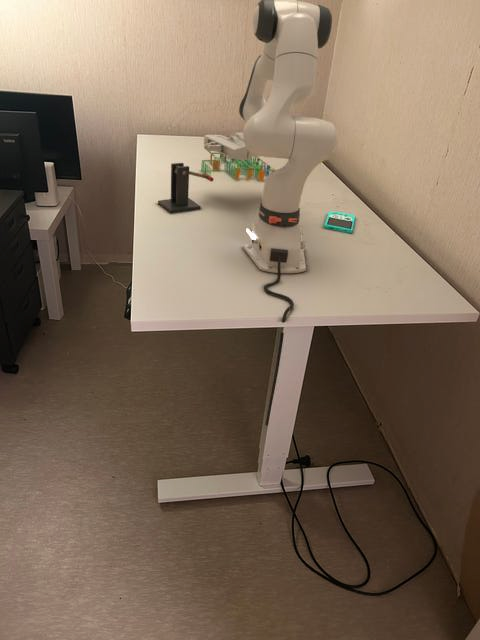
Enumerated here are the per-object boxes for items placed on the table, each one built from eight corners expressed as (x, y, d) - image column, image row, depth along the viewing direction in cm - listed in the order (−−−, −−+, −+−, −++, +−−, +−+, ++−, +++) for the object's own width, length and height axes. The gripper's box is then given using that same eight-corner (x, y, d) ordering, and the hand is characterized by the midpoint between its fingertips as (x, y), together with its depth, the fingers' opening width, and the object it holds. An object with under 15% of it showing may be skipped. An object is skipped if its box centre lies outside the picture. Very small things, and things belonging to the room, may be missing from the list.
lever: (204, 178, 170) (206, 172, 169) (212, 183, 167) (214, 176, 166) (172, 170, 161) (173, 163, 160) (179, 175, 158) (181, 168, 157)
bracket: (187, 199, 173) (188, 159, 165) (200, 209, 167) (202, 168, 159) (157, 203, 167) (157, 162, 159) (170, 213, 161) (171, 170, 152)
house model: (275, 180, 204) (277, 169, 202) (212, 182, 193) (213, 170, 191) (245, 157, 230) (246, 148, 228) (188, 158, 220) (188, 148, 217)
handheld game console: (355, 218, 175) (356, 214, 174) (352, 233, 162) (353, 230, 161) (328, 213, 176) (329, 209, 176) (323, 228, 163) (324, 224, 162)
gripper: (224, 129, 173) (191, 131, 166) (256, 143, 160) (222, 145, 153) (222, 147, 177) (191, 149, 169) (254, 161, 163) (221, 164, 156)
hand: (206, 147), depth 161 cm, fingers closed
